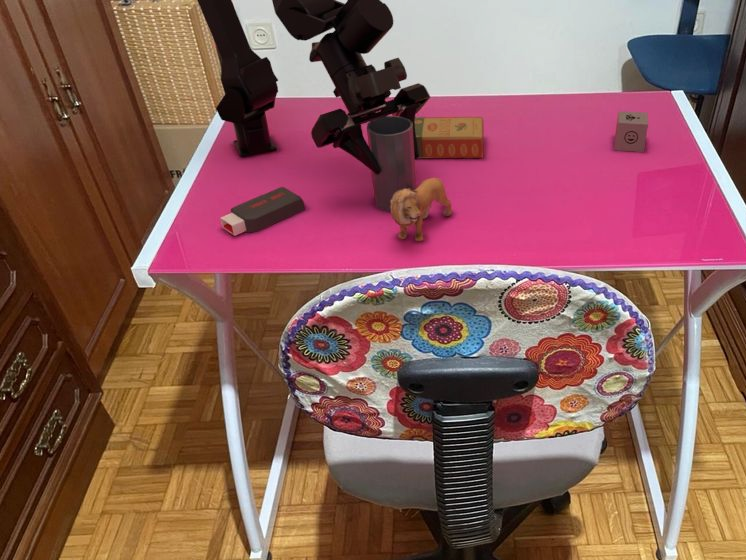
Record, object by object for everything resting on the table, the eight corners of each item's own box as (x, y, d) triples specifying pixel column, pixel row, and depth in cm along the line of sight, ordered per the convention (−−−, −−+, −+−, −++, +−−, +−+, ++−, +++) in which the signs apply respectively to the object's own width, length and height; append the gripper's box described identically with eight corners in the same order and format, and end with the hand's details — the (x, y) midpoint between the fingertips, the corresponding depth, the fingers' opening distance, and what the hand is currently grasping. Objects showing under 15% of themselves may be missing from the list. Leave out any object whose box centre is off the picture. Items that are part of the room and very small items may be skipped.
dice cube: (614, 137, 131) (618, 111, 127) (642, 139, 130) (647, 112, 127) (614, 150, 127) (618, 122, 124) (643, 151, 126) (648, 124, 123)
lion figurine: (419, 257, 102) (415, 201, 96) (385, 250, 103) (379, 194, 98) (457, 207, 112) (456, 154, 106) (426, 201, 114) (423, 148, 108)
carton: (482, 159, 125) (483, 136, 122) (390, 159, 125) (388, 135, 122) (483, 138, 131) (483, 115, 128) (395, 137, 131) (393, 115, 128)
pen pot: (369, 196, 115) (360, 121, 107) (407, 187, 117) (402, 112, 109) (383, 215, 111) (376, 138, 102) (423, 205, 113) (419, 129, 105)
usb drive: (305, 209, 112) (302, 193, 110) (238, 239, 106) (234, 223, 104) (286, 198, 115) (283, 182, 113) (219, 226, 109) (215, 210, 107)
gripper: (308, 58, 96) (364, 163, 97) (419, 27, 105) (469, 123, 106) (289, 98, 106) (339, 193, 107) (392, 67, 115) (437, 155, 116)
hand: (398, 165), depth 109 cm, fingers closed on pen pot, 7 cm apart
